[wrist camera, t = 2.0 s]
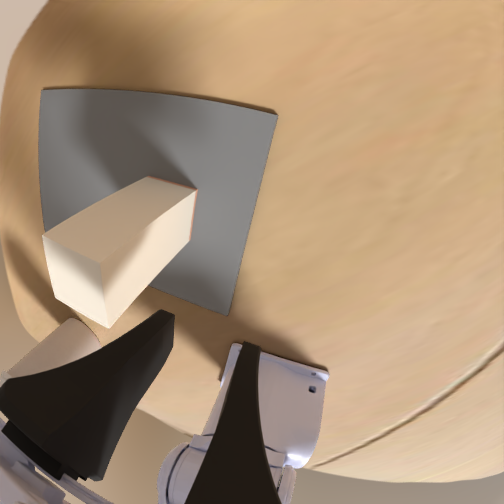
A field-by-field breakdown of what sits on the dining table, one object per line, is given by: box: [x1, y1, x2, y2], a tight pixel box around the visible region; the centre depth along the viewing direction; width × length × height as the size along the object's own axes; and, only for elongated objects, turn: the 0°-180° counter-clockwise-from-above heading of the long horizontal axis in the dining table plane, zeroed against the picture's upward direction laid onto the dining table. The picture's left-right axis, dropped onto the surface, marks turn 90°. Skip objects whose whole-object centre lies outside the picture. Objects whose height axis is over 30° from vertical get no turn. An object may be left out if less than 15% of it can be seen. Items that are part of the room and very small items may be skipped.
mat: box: [39, 89, 278, 316], centre depth 21 cm, size 22×16×1 cm
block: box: [42, 176, 198, 329], centre depth 16 cm, size 4×4×10 cm
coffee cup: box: [0, 318, 101, 387], centre depth 27 cm, size 10×10×15 cm
